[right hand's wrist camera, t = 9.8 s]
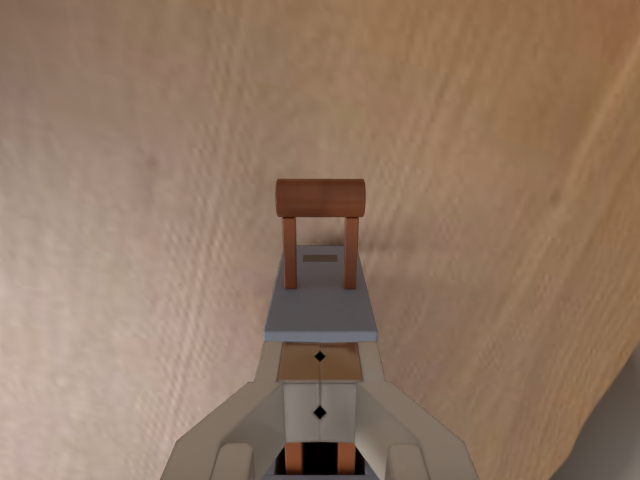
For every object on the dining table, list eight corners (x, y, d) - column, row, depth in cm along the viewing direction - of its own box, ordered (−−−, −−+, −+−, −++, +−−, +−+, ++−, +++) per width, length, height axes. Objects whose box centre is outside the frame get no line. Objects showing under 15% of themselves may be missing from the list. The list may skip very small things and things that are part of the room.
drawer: (280, 159, 23) (255, 201, 14) (359, 159, 23) (386, 201, 14) (290, 465, 31) (279, 614, 22) (348, 465, 31) (360, 614, 22)
